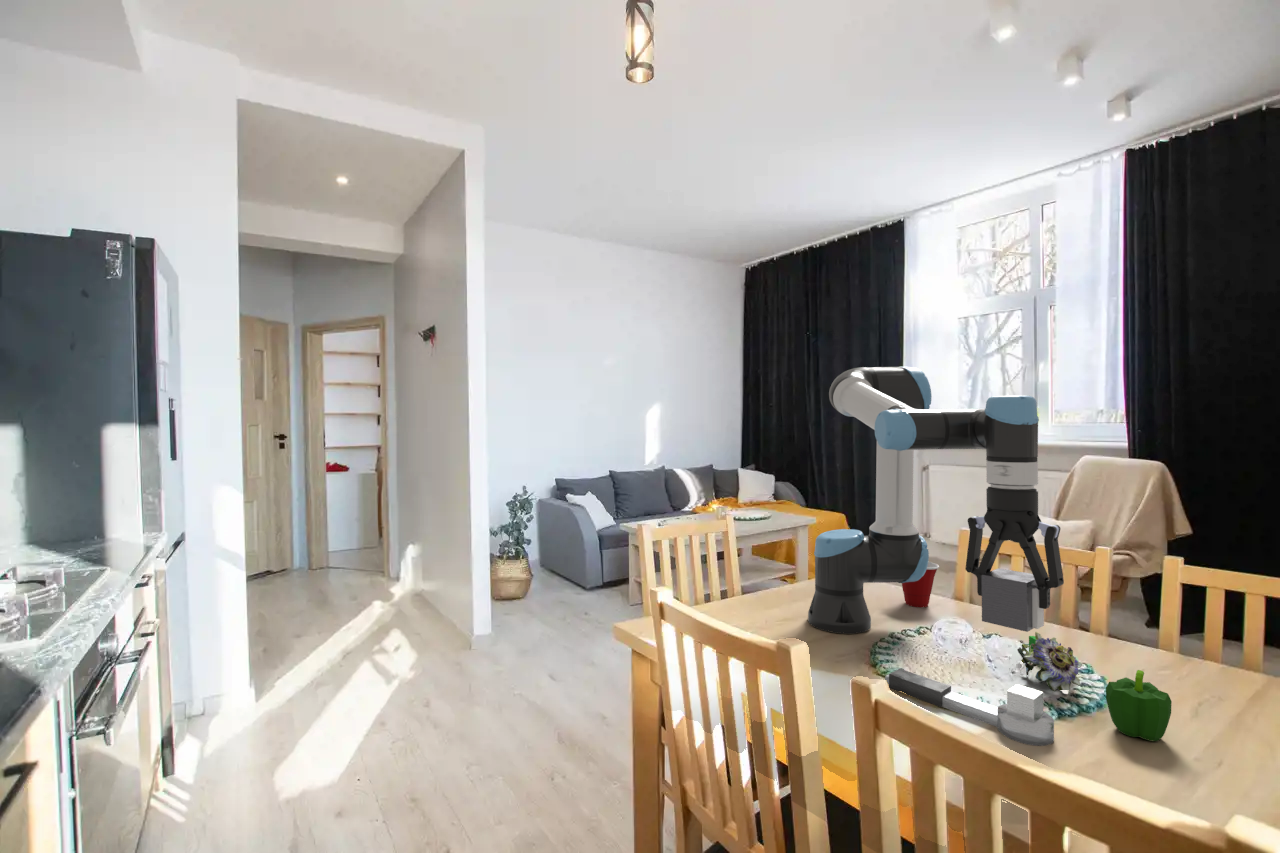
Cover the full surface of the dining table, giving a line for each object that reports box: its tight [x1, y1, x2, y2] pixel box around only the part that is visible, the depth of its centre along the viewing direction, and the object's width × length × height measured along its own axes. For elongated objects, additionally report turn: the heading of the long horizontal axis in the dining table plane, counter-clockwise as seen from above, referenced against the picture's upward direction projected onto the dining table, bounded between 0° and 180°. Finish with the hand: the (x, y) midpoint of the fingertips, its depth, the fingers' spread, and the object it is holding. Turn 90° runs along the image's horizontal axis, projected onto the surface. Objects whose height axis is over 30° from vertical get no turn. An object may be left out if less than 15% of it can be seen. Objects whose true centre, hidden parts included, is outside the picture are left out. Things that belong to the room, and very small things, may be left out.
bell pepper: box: [1105, 669, 1172, 742], centre depth 101 cm, size 8×8×10 cm
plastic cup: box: [901, 561, 940, 608], centre depth 169 cm, size 11×11×12 cm
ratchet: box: [884, 668, 1055, 747], centre depth 110 cm, size 28×8×7 cm, turn 38°
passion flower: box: [1017, 631, 1083, 692], centre depth 120 cm, size 11×11×12 cm
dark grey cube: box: [981, 568, 1037, 633], centre depth 104 cm, size 7×7×8 cm
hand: (1012, 620), depth 104 cm, fingers closed on dark grey cube, 7 cm apart
